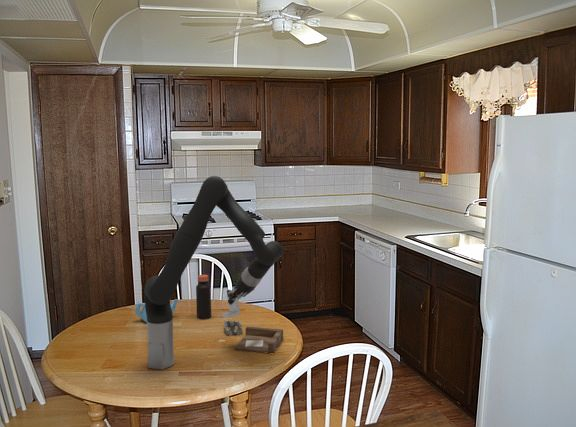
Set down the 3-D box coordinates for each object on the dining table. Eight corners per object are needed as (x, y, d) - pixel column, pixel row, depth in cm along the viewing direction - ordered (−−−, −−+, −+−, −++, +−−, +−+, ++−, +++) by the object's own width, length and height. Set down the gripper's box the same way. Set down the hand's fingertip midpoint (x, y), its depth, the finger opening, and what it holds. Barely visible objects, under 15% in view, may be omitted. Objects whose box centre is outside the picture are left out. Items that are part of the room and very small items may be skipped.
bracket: (229, 318, 206) (226, 293, 206) (221, 317, 209) (218, 292, 209) (240, 314, 210) (237, 290, 210) (232, 314, 213) (229, 290, 213)
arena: (273, 353, 203) (273, 344, 203) (234, 349, 207) (234, 340, 207) (283, 338, 219) (283, 329, 218) (247, 335, 223) (246, 326, 222)
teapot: (152, 312, 252) (151, 290, 251) (179, 315, 247) (178, 293, 246) (133, 322, 238) (132, 300, 236) (161, 326, 233) (160, 303, 231)
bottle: (210, 314, 250) (209, 273, 247) (212, 318, 243) (211, 277, 240) (195, 315, 248) (194, 274, 245) (197, 320, 241) (196, 278, 238)
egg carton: (242, 335, 223) (242, 326, 223) (225, 336, 222) (225, 327, 221) (240, 326, 234) (240, 318, 233) (223, 327, 232) (223, 319, 232)
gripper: (258, 267, 208) (239, 291, 218) (232, 273, 199) (213, 298, 209) (268, 282, 205) (248, 306, 215) (241, 289, 196) (222, 313, 206)
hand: (231, 302), depth 212 cm, fingers closed on bracket, 1 cm apart
